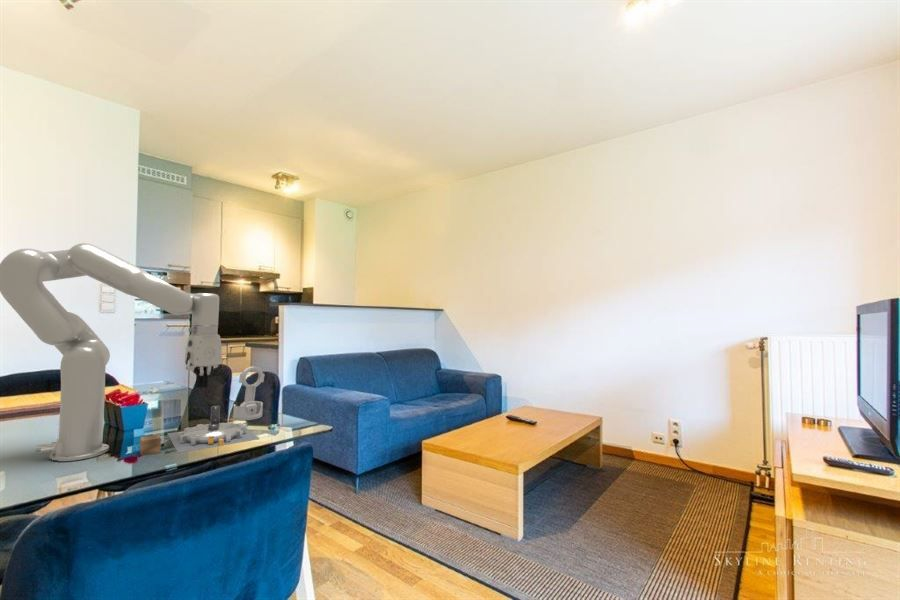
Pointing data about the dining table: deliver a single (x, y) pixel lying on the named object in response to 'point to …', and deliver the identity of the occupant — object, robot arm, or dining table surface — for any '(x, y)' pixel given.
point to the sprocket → (212, 430)
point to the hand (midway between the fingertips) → (201, 387)
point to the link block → (150, 444)
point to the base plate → (188, 447)
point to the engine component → (249, 398)
